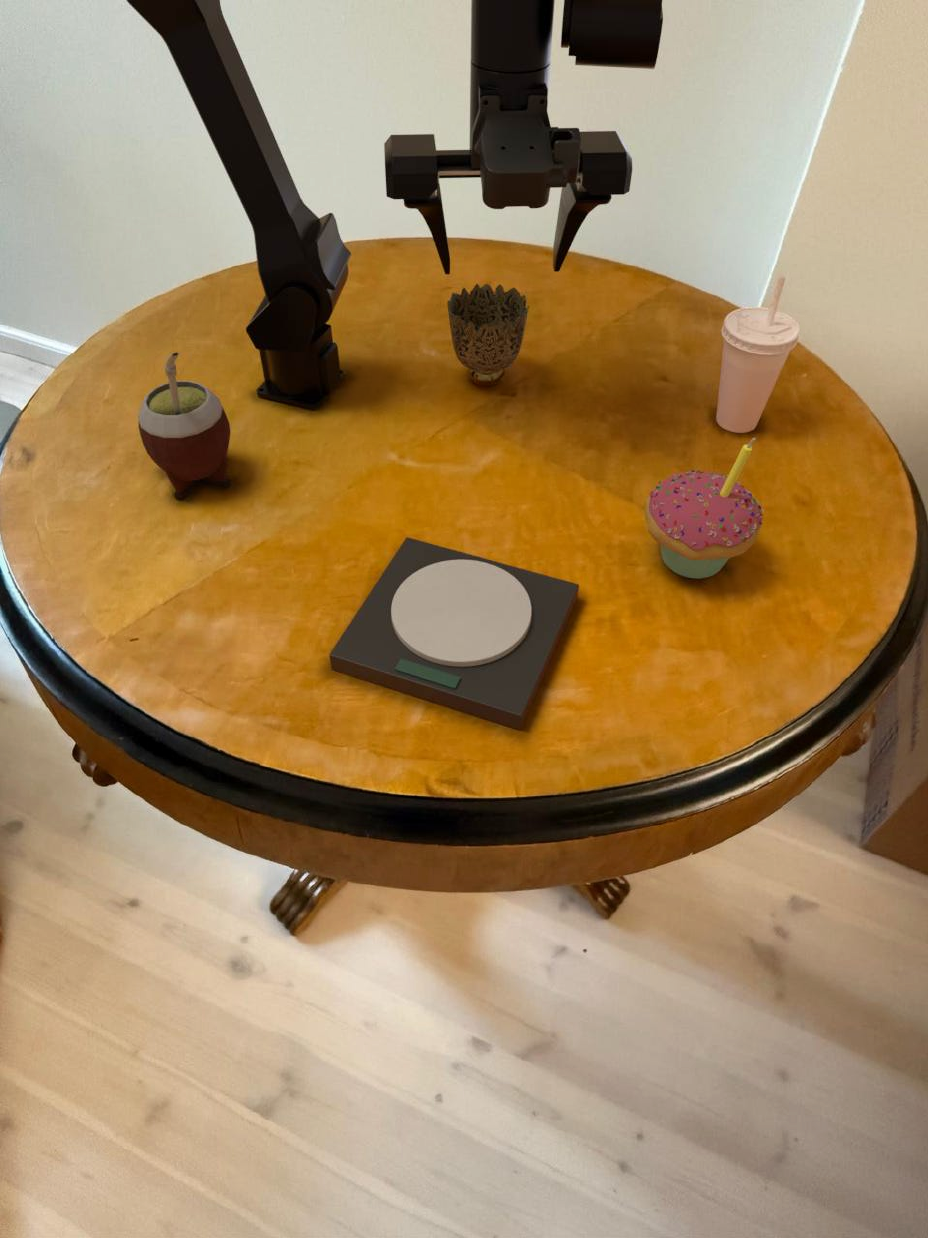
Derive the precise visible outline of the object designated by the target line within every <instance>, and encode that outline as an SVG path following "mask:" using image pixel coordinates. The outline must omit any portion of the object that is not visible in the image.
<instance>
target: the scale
mask: <svg viewBox="0 0 928 1238" xmlns="http://www.w3.org/2000/svg"><path fill="white" fill-rule="evenodd" d="M579 590H580V584H579V583H575V582H571V581H568V580H566V579H565V580H564V579H560V578H558V577H554V576H550V575H546V574H543V573H539V572H535V571H532V570H528V569H525V568H521V567H518V566H514V565H510V564H506V563H503V562H499V561H495V560H491V559H488V558H484V557H481V556H477V555H474V554H471V553H466V552H463V551H459V550H456V549H452V548H448V547H444V546H441V545H438V544H433V543H430V542H426V541H424V540H423V541H422V540H420V539H416V538H411V537H408V536H406V538H405V539H404V541H403V542H402V544H400V546H399V548H398V550H397V551H396V552H395V554H394V555H393V557H392V558H391V560H390V562H389V563H388V564H387V566H386V568H385V569H384V571H383V573H381V575H380V577H379V579H378V580H377V581H376V582H375V584H374V586H373V587H372V589H371V590H370V592H369V594H368V595H367V596H366V598H365V600H364V601H363V602H362V604H361V606H360V607H359V609H358V610H357V612H356V613H355V615H354V616H353V618H352V619H351V621H350V623H348V625H347V627H346V629H344V631H343V633H342V635H341V636H340V637H339V639H338V640H337V643H336V644H335V645H334V647H333V648H332V650H331V651H330V653H329V655H328V656H329V662H330V667H331V670H333V671H336V672H339V673H342V674H344V675H348V676H352V677H353V678H357V679H361V680H364V681H366V682H370V683H372V684H376V685H379V686H382V687H384V688H388V689H392V690H395V691H397V692H401V693H404V694H407V695H410V696H413V697H416V698H418V699H419V698H420V699H423V700H426V701H428V702H432V703H435V704H437V705H440V706H444V707H448V708H450V709H453V710H457V711H458V712H459V711H460V712H463V713H466V714H469V715H472V716H475V717H478V718H481V719H484V720H487V721H491V722H494V723H497V724H499V725H503V726H506V727H509V728H512V729H515V730H518V731H520V730H522V727H523V726H524V723H525V721H526V719H527V716H528V714H529V712H530V709H531V707H532V704H533V702H534V700H535V697H536V695H537V693H538V691H539V689H540V686H541V684H542V682H543V679H544V677H545V674H546V672H547V670H548V668H549V665H550V663H551V660H552V659H553V656H554V654H555V652H556V649H557V647H558V645H559V642H560V640H561V638H562V635H563V633H564V631H565V629H566V626H567V624H568V622H569V619H570V617H571V615H572V612H573V611H574V608H575V605H576V603H577V601H578V596H579Z"/></svg>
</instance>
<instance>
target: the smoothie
mask: <svg viewBox="0 0 928 1238" xmlns="http://www.w3.org/2000/svg"><path fill="white" fill-rule="evenodd" d="M786 278H787V276H786V275H784V274H779V275H778V277H777V282H776V285H775V288H774V293H773V296H772V300H771V303H770V307H769V308H768V307H762V306H761V307H760V306H749V307H747V306H746V307H742V308H738V309H735V310H733V311H731V312H729V313H728V314H727V315H725V317H724V321H723V324H722V327H721V332H720V333H721V336H722V338H723V346H722V357H721V367H720V368H721V369H720V376H719V387H718V396H717V406H716V416H715V420H716V423H717V425H718V426H719V427H721V429H724V430H726V431H727V432H731V433H737V434H744V433H749V432H752V431H754V429H755V428H756V427H757V425H758V423H759V421H760V418H761V416H762V414H763V411H764V410H765V408H766V406H767V403H768V401H769V399H770V396H771V394H772V392H773V390H774V387H775V385H776V383H777V381H778V378H779V376H780V374H781V372H782V370H783V368H784V365H785V364H786V361H787V359H788V357H789V354H790V352H791V350H793V349H795V347H796V346H797V344H798V342H799V337H800V335H801V329H800V325H799V324H798V323H797V321H795V319H794V318H792V317H791V316H790V315H788V314H786V313H784V312H783V311H782V312H781V311H779V310H778V306H779V304H780V303H779V302H780V300H781V296H782V293H783V290H784V285H785V281H786Z"/></svg>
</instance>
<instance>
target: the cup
mask: <svg viewBox="0 0 928 1238" xmlns="http://www.w3.org/2000/svg"><path fill="white" fill-rule="evenodd" d="M446 301H447V302H446V303H447V311H448V319H449V320H448V321H449V329H450V335H451V336H450V337H451V341H452V346H453V351H454V353H455V356H456V358H457V359H458V362H460V363H461V365H463V366H464V367H465V368H466V369H467V370H466V371H467V372H466V373H467V375H468V377H469V379H470V381H471V382H473V383H474V384H477V385H479V386H486V387H487V386H495V385H498V384H499V383H501V381H502V380H503V379H504V378H505V375H506V372H507V371H506V369H509V367H510V366H512V364H514V362H515V361H516V359H517V358H518V356H519V354H520V351H521V348H522V344H523V339H524V334H525V330H526V329H525V328H526V323H527V318H528V313H529V309H530V306H529V305H527V297H526V295H525V294H523V295H521V293H520V291H519V290H518V289H517V288H516V287H511V288H510V289H508V290H507V291H505V288H504V287H503V286H502V284H498V285H497V286H496V287H495V289H494V290H493V288H492V286H491V285H490V284H489V283H485V284H483V285H482V286H480V285H479V284H478V283H476V284H475V285H474V286H473V288H472V289H471V290H470V292H469V291H468V290H467V289H466V287H464V286H463V288H462V290H461V293H460V294H459V293H457V292H452V293H451V294H450V298H449V300H446Z"/></svg>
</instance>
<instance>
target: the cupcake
mask: <svg viewBox="0 0 928 1238" xmlns="http://www.w3.org/2000/svg"><path fill="white" fill-rule="evenodd" d="M756 440H757V438H756V437H753V438H752V439H750V441H749V443H748V444H743V445H742V448H741V449H740V451H739V454H738V456H737V458H736V460H735V462H734V463H733V466H732V468H731V470H730V471H729V474H726V475H725V474H720V473H717V472H712V471H701V470H696V471H695V470H693V469H692V470H691V471H686V472H676V473H675V474H671V475H670V476H669V477H668V478H666V479H664V480H662V481H659V482H658V483H657V485H656V486H655V487H653V489H652V491H650V493H649V495H648V497H647V499H646V501H645V504H644V515H645V516H644V517H645V520H646V527H647V532H648V534H649V535H650V536H651V537H652V538H653V540H655V541H656V542H657V543H659V547H660V552H661V558H662V561H663V563H664V565H665V566H666V567H667V568H668V569H669V570H671V571H672V572H674V573H675V574H677V575H678V576H681V577H685V578H689V579H698V580H699V579H706V578H710V577H712V576H714V575H716V574H718V572H720V571H721V570H722V568H723V567H724V565H725V564H726V563H727V562H728V561H729V560H730V559H731V558H734V557H738V556H740V555H742V554H744V553H746V552H747V551H748V549H750V547H751V546H752V545H754V544H755V543H756V541H757V539H758V537H759V533H760V531H761V527H762V525H763V514H764V511H765V510H764V509H762V506H761V505H759V501H758V500H757V499H755V497H754V494H753V493H751V491H750V490H749V489H746V488H745V486H744V485H743V484H741V483H740V482H739V481H738V479H739V477H740V474H741V472H742V470H743V468H744V467H745V465H746V462H747V461H748V459H749V457H750V456H751V453H752V451H753V447H752V445H754V442H755V441H756Z"/></svg>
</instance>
